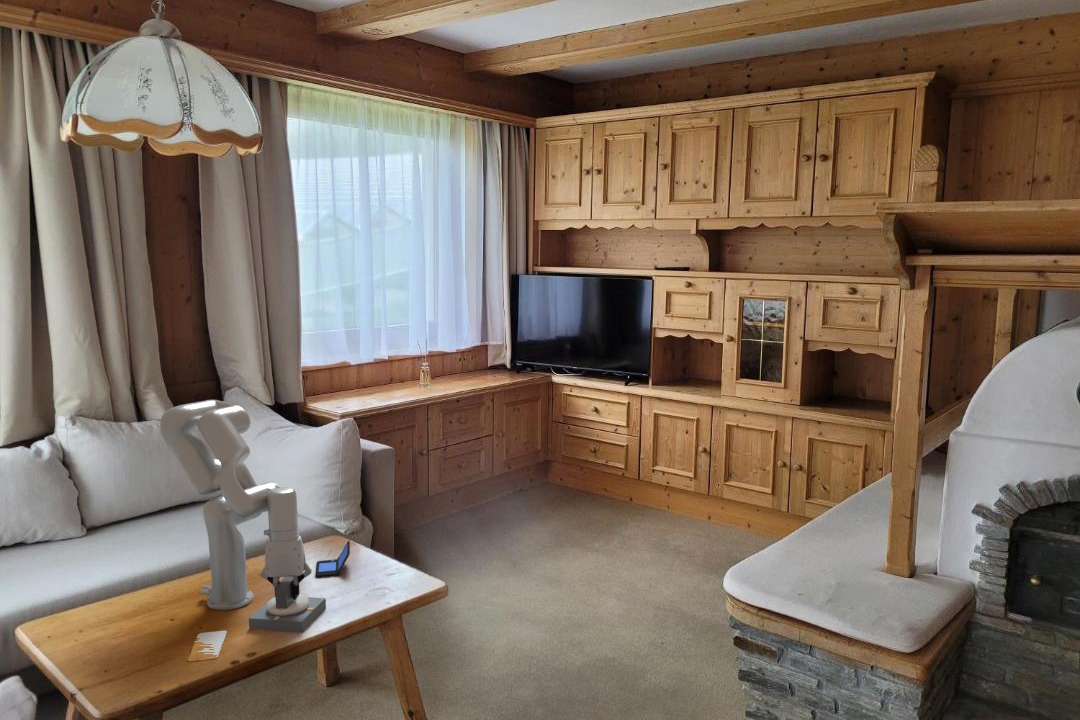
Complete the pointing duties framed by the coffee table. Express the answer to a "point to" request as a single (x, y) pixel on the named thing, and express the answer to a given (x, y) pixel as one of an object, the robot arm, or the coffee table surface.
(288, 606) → the dial
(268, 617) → the control plate
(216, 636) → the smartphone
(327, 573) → the handheld game console
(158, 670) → the coffee table surface
